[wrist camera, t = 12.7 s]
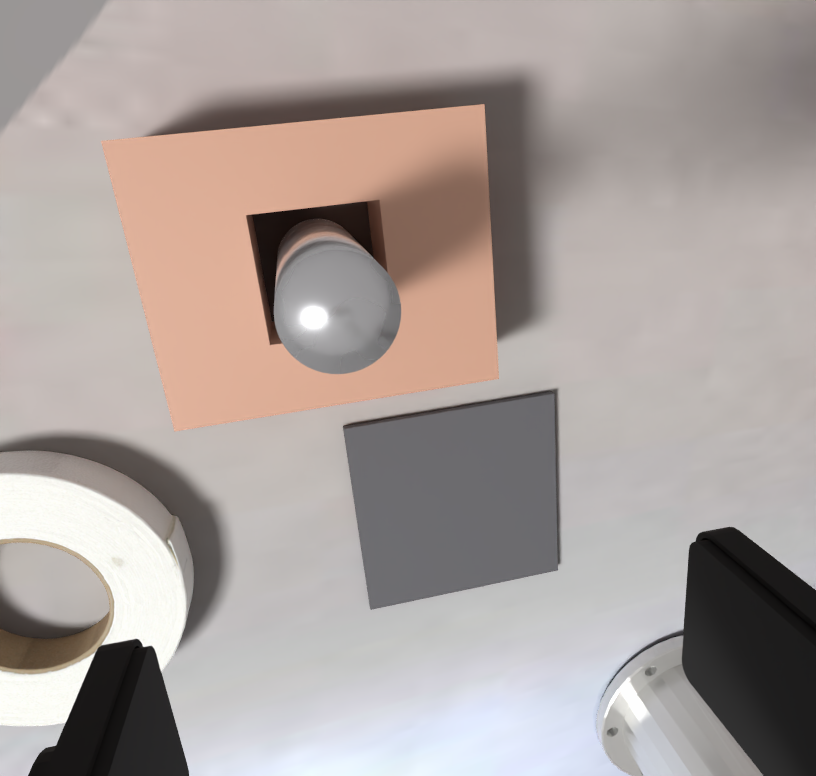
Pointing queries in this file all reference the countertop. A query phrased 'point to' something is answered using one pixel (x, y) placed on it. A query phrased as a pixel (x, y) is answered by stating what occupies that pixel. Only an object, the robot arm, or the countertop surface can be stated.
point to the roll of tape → (107, 556)
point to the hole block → (297, 189)
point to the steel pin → (333, 299)
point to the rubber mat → (455, 497)
